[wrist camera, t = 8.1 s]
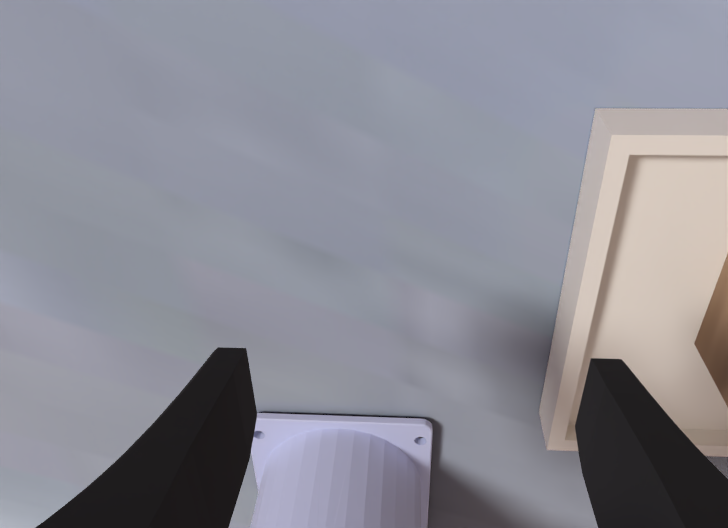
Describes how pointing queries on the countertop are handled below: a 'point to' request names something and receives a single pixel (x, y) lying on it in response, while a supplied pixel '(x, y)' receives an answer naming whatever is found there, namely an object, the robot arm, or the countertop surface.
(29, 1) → the countertop surface
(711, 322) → the walnut block
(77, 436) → the countertop surface
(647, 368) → the serving dish
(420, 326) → the countertop surface
